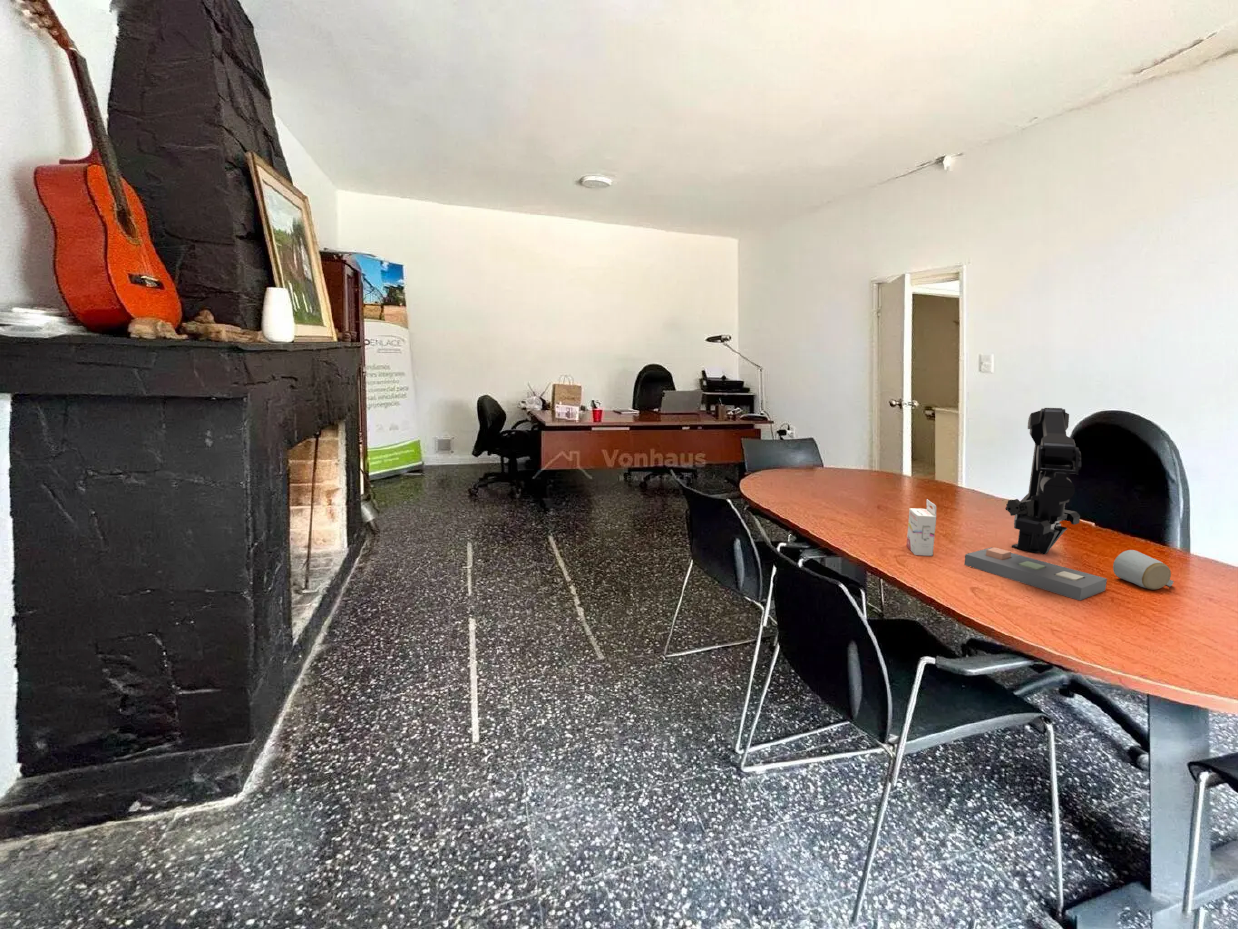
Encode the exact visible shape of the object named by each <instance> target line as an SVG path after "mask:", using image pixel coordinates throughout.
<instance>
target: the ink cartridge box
mask: <svg viewBox="0 0 1238 929" xmlns="http://www.w3.org/2000/svg"><path fill="white" fill-rule="evenodd" d="M908 509H909V512H908V525H907V534H906V547H907V548H908V549H909V550H910V551H911V553H913V555H914V556H924V557H925V556H929V557H932V556H934V549H935V548H934V547H935V546H934V545H935V534H936V526H937V505H936V504H935V503H933V502H932V501H930V500H929V499H928V498H926V508H914V507H913V508H912V507H911V508H908Z"/></svg>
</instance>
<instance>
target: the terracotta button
mask: <svg viewBox="0 0 1238 929" xmlns="http://www.w3.org/2000/svg"><path fill="white" fill-rule="evenodd" d="M990 548H991V547H990ZM1011 553H1012V551H1010V550H1007V549H1002V548H998V547H992V548H991V549H988V550H986V556H989V557H993V558H996V559H1000V560H1005V559H1009V558H1011Z"/></svg>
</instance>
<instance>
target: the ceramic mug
mask: <svg viewBox="0 0 1238 929" xmlns="http://www.w3.org/2000/svg"><path fill="white" fill-rule="evenodd" d="M1112 565H1113V566H1112V568H1113V569H1112V571H1113V573H1114V575H1115V576H1116V577H1118V578H1119V579H1121V580H1124V581H1126V582H1129V583H1131V584H1134V585H1136V586H1138V587H1140V588H1144V589H1146V590H1152V591H1154V590H1159V589H1162V588H1163V587H1165V586H1167V587H1172V586H1173V584H1174V582H1175V581H1174V580H1172V579H1171V577H1172V576H1171V575H1172V573H1171V572H1172V571H1171V569H1170V567H1169V566H1168V565H1167V564H1165V563H1163V561H1161V560H1158V559H1156V558H1153V557H1151V556H1149V555H1147V554H1144V553H1142V552H1140V551H1138V550H1136V549H1135V550H1134V549H1128V550H1124V551H1122V552H1121V553H1119V554H1118V555H1117V556H1116V557H1115V559H1114V561H1113V564H1112Z"/></svg>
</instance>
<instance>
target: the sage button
mask: <svg viewBox="0 0 1238 929" xmlns="http://www.w3.org/2000/svg"><path fill="white" fill-rule="evenodd" d="M1019 565H1021V566H1024V567H1028V568H1031V569H1035V570H1039V569H1042V568H1045V566H1044V565H1040V564H1037V563H1033V562H1029V561H1026V562H1023V563H1019Z"/></svg>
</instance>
